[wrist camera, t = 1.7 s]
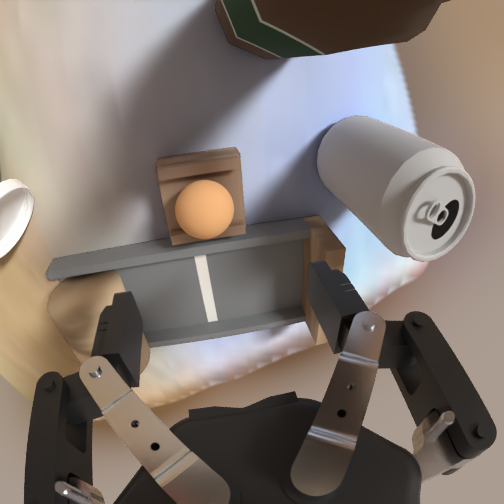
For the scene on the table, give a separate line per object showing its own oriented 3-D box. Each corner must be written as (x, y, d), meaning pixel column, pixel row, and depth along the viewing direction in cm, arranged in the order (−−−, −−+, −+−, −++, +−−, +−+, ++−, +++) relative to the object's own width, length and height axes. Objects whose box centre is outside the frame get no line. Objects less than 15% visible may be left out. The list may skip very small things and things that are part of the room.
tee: (171, 227, 25) (169, 245, 23) (157, 158, 22) (154, 170, 20) (241, 215, 26) (248, 233, 24) (235, 146, 23) (242, 157, 20)
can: (360, 206, 28) (438, 284, 18) (296, 173, 25) (370, 252, 15) (399, 140, 25) (497, 194, 15) (340, 97, 22) (445, 130, 12)
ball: (180, 225, 23) (180, 254, 20) (171, 176, 21) (168, 198, 18) (232, 217, 24) (240, 244, 20) (227, 168, 22) (235, 188, 18)
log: (92, 334, 29) (82, 387, 24) (60, 273, 25) (37, 327, 19) (151, 327, 30) (149, 383, 24) (126, 261, 26) (115, 318, 20)
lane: (93, 338, 30) (90, 353, 29) (52, 258, 24) (45, 272, 23) (298, 307, 33) (305, 321, 32) (302, 217, 27) (311, 229, 26)
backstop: (298, 307, 33) (316, 345, 29) (302, 217, 27) (326, 251, 23) (312, 304, 34) (331, 341, 29) (318, 215, 28) (345, 248, 23)
